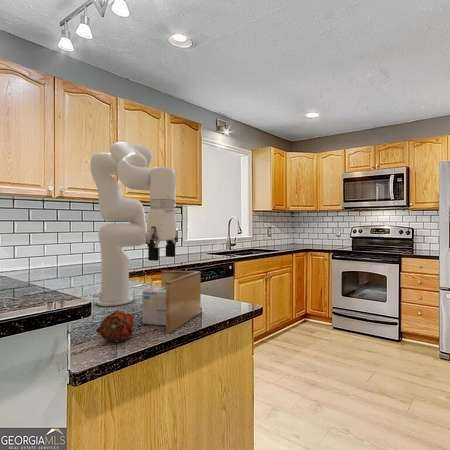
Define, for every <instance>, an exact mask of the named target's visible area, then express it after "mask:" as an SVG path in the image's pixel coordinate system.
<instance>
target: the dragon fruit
mask: <svg viewBox="0 0 450 450" xmlns="http://www.w3.org/2000/svg"><path fill="white" fill-rule="evenodd" d="M134 319H135V318H134V316H133V315H132V314H131V313H126V312H125V311H124V310H119V309H118V310H115V311H114V312H111V313H110V314H107V316H105V317H104V318H103V319H102V321H101V323H99V326H98V327H96V328H95V332H96V333H97V334H99V335H100V337H101V338H102V339H103V340H105V341H107V342H110V341H111V342H114V343H121V342H122V341H123V340H124V339H126V338H130V337H131V336H132V335H133V333H134V330H135V327H134V326H135V325H134Z"/></svg>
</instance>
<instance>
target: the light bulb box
mask: <svg viewBox="0 0 450 450" xmlns="http://www.w3.org/2000/svg"><path fill="white" fill-rule="evenodd" d="M142 324H143V325H154V326H155V325H156V326H166V287H161V286H154V287H150V288H146V289H143V290H142Z"/></svg>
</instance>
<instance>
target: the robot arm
mask: <svg viewBox="0 0 450 450" xmlns="http://www.w3.org/2000/svg"><path fill="white" fill-rule="evenodd" d="M153 159H154V155H153V152H152V150H151V148H150V147H148V146H147V145H144V144H138V143H133V142H129V141H117V142H115V143H113V144H112V145H111V146H110V150H109V152H104V151H103V152H102V151H101V152H96V153H94V154H92V156H91V157H90V164H89V166H90V168H89V169H90V173H91V176H92V179H93V181H94V184H95V185H96V189H97V197H98V205H99V213H100V217H101V218H102V219H103V220H104V221H107V222H113V223H106V224H103V225H102V226H100V227H99V229H98V234H97V235H98V242H99V246H100V260H101V266H100V267H101V268H100V269H101V273H100V274H101V276H100V277H101V279H100V281H101V283H100V285H101V291H95V292H94V293H93V298H98V300H97V301H96V305H97V306H101V307H114V306H116V307H117V306H121V305H127V304H129V303H130V304H131V303H132V302H133V301H134V297H133V296H130V264H129V263H130V259H129V256H128V254H127V252H126V251H125V250H124V249H123V248H127V247H129V248H130V247H141V246H143V245H145V244H147V245H146V247H147V249H148V251H147V253H148V254H147V259H148V261H153V262H157V261H159V260H160V247H159V245H160V242H165V243H166V244H165V257H167V258H175V257H176V245H177V239H178V235H179V231H178V230H177V221H176V220H177V219H176V212H175V211H176V181H177V179H176V177H177V176H176V175H177V173H176V170H175V169H174V168H172V167H170V166H169V167H168V166H153V167H152V168H151V167H150V166H151V164H152V162H153ZM112 175H113V176H117V178H118V180H119V181H120V182H121V183H122V185H123V186H124V187H126V188H128V189H130V190H135V191H149V200H150V201H149V208H150V209H149V210H148V215H147V219H146V213H145V208H144V205H143V203H142V202H141V201H140V200H139V199H136V198H126V197H124V196H123V191H122V190H123V189H122V186H121V184H120V183H119V182H118V181H117V180H116V178H115V177H113V176H112ZM114 222H115V223H114ZM116 222H119V223H116ZM123 222H124V223H123ZM125 222H129V223H125Z"/></svg>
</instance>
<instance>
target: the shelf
mask: <svg viewBox="0 0 450 450" xmlns="http://www.w3.org/2000/svg"><path fill="white" fill-rule="evenodd" d="M201 274H202V272H201V271H197V270H194V271H193V270H191V271H190V270H162V271H160V275H161V276H160V277H161V283H160V287H166V325H165V333H168V334H170V333H171V332H173V331H175V330H176V329H178V328H180V327H181V326H183V325H184V324H186V323H188V322H189V321H191V320H192V319H194V318H195V317H197V316H198V315H200V314H201V313H202V312H201V306H202V305H201V302H202V301H201V299H202V298H201Z"/></svg>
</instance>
